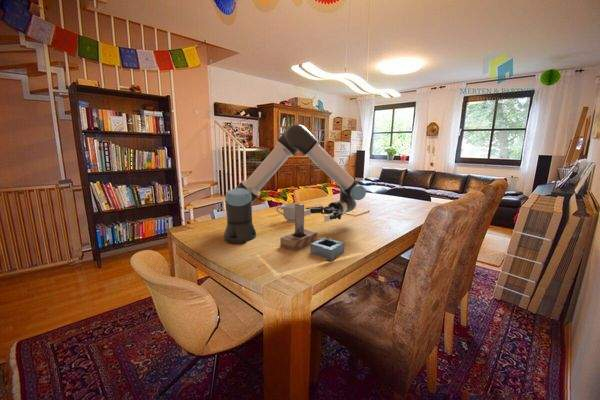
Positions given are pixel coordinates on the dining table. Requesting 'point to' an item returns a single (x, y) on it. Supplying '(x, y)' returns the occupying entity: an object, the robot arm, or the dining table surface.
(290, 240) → the brown rectangular block
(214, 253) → the dining table surface
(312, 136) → the robot arm
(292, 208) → the teacup
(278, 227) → the dining table surface
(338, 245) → the socket block
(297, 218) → the grey brown square post
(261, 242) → the dining table surface
